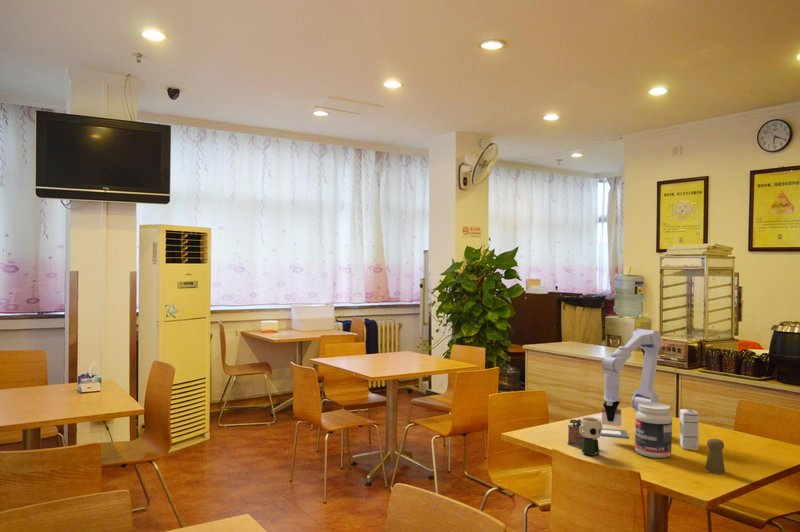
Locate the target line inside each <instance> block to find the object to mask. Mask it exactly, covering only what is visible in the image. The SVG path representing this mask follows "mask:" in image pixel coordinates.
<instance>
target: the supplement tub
mask: <svg viewBox="0 0 800 532" xmlns="http://www.w3.org/2000/svg"><path fill="white" fill-rule="evenodd" d="M638 409H639V411H638V412H637V413H636V412H635V421H636V424H635V428H634V429H635V432H634V450H635V451H636V452H637V454H639V455H642V456H644V457H647V458H653V459H664V458H668V457H670V456H671V454H672V449H673V448H672V445H673V444H672V443H673V442H672V439H673V438H672V437H673V418H672V417H673V416H672V415H671V414H670V413H671V412H672V410H671V406H670V405H668V404H665V403H662V402H658V403H654V402H641V403H639V404H638Z"/></svg>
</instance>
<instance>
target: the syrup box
mask: <svg viewBox="0 0 800 532" xmlns="http://www.w3.org/2000/svg"><path fill="white" fill-rule="evenodd" d="M699 418H700V415H699V412H697V411H696V410H695V409H689V408H688V409H685V408H684V409H679V447H681V448H682V449H683V450H687V449H695V450H694V451H699V449H700V448H699V441H700V439H699V438H700V437H699V433H700V432H699V430H700V429H699V425H700V424H699V423H700V422H699V420H700V419H699Z"/></svg>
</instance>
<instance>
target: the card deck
mask: <svg viewBox="0 0 800 532" xmlns="http://www.w3.org/2000/svg"><path fill="white" fill-rule="evenodd" d="M601 423H602V425H606V426H611V427H612V426H614V427H621V426H622V409H618V408H617V409H616V411H615V417H614V421H613V422H611V421H608V420H607V415H606V410H605V408H604V407H603V408H602V409H601Z"/></svg>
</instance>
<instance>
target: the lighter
mask: <svg viewBox="0 0 800 532" xmlns="http://www.w3.org/2000/svg"><path fill="white" fill-rule="evenodd" d="M580 426H581V418H578V419H574V418H573V419H571V418H570V420H569V424H567V429H568V431H567V433H568V434H567V435H568V436H567V438H568V439H567V445H568V446H571V445H573V447H582V444H583V439H584V438H585V437H584V436H582V435H581V434H580V433H579V427H580Z"/></svg>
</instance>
